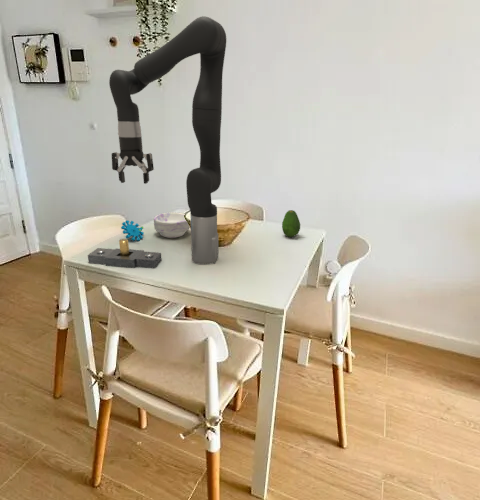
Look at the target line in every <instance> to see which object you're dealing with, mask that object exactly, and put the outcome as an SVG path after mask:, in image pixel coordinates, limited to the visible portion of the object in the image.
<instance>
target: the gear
mask: <svg viewBox="0 0 480 500" xmlns="http://www.w3.org/2000/svg"><path fill="white" fill-rule="evenodd" d="M134 223H135V222H134V221H133V220H131V221H129V220H127V219H126V220H125V221H123V222H122V223H121V225H122V226H120V229H121V230H122V234H123V235H126V236H125V239H129V238H131V241H133V242H134V241H135V240H136V241H138V242H139V241H141V240H142V239H144V236H143V235H144V233H145V232H144V231H143V229H144V226H140V225H139V223H135V224H134ZM139 226H140V227H139Z"/></svg>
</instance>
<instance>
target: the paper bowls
mask: <svg viewBox="0 0 480 500" xmlns="http://www.w3.org/2000/svg"><path fill="white" fill-rule="evenodd" d="M184 215H185V213H180V212H163V213H160V214H157V215H155V216H154V217H153V226H154V227H153V228H154V230H155V231H156V232H158V233H159V234H160V236H162V237H164V238H166V239H167V238H168V239H169V238H171V239H175V238H180V237H182V236H184V235H185V233H186V232H187V231H188V230H190V229H191V226H190V227H189V225H188V223H187V221H186V220H185V218H184Z"/></svg>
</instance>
